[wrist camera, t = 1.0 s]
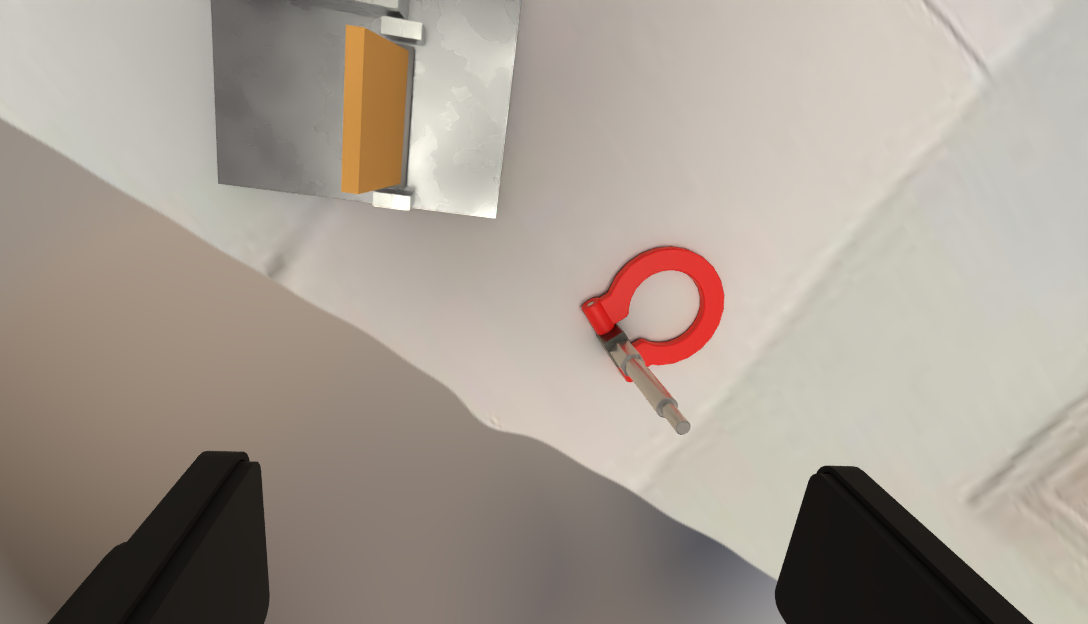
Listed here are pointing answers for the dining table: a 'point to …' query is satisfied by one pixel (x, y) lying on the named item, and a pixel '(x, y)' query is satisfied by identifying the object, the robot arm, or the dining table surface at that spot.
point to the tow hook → (646, 353)
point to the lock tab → (375, 111)
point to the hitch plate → (318, 96)
